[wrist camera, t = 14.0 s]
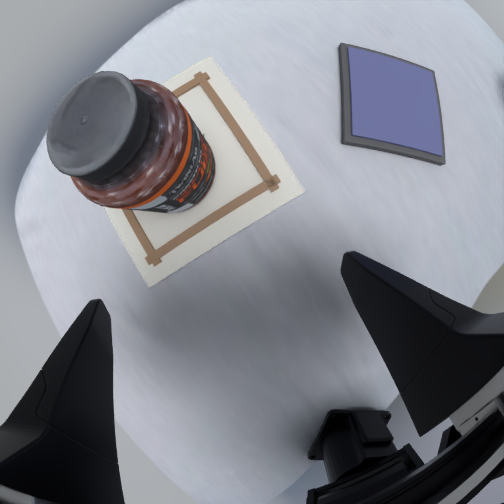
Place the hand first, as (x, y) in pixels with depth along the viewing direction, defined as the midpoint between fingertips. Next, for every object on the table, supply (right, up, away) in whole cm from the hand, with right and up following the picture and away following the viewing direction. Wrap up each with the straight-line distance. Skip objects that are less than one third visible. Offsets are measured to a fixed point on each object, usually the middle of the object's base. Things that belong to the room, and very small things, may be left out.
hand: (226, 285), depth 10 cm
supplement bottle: (-4, +7, +9) cm, 12 cm away
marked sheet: (-4, +7, +9) cm, 13 cm away
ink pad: (+12, +13, +8) cm, 19 cm away
